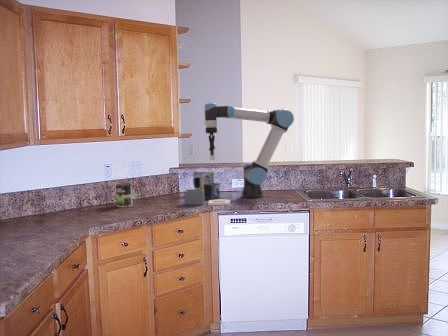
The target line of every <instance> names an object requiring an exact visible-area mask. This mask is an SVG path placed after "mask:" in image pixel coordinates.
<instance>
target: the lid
mask: <svg viewBox="0 0 448 336" xmlns="http://www.w3.org/2000/svg"><path fill="white" fill-rule="evenodd" d="M207 206H231V199H223V198H222V199H220V198H217V199H213V200H208V202H207Z"/></svg>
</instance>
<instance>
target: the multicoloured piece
mask: <svg viewBox="0 0 448 336" xmlns="http://www.w3.org/2000/svg"><path fill="white" fill-rule="evenodd" d="M132 187H133V184H132V183H117V184H115V196H116V198H115V200H116V207H118V208H128V207H127V206H129V207H133V191H132V190H133V189H132Z"/></svg>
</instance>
